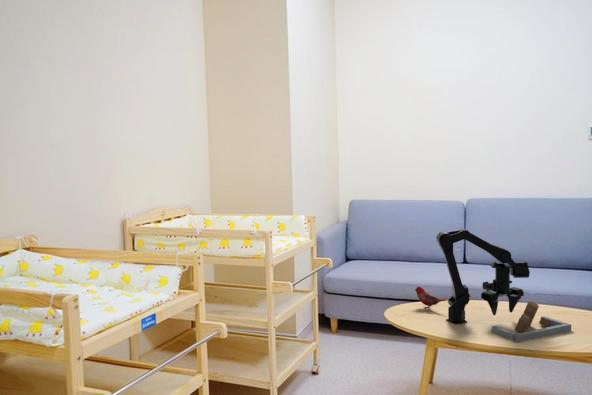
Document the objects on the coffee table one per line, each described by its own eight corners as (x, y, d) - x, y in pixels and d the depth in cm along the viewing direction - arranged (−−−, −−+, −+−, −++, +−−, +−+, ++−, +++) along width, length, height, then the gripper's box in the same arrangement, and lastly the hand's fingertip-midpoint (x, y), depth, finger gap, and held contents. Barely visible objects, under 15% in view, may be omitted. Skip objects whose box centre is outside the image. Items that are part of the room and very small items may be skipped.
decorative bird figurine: (416, 305, 250) (416, 285, 249) (449, 312, 237) (449, 290, 236) (413, 306, 248) (412, 286, 247) (446, 313, 235) (445, 292, 234)
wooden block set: (523, 340, 204) (532, 320, 200) (504, 327, 211) (513, 307, 206) (547, 329, 215) (556, 309, 210) (529, 316, 221) (538, 297, 217)
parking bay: (517, 342, 196) (517, 336, 195) (491, 332, 207) (491, 326, 207) (571, 330, 207) (571, 324, 207) (544, 321, 219) (544, 316, 219)
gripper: (504, 272, 231) (504, 306, 232) (472, 276, 224) (472, 311, 225) (524, 276, 221) (524, 312, 222) (490, 281, 213) (490, 318, 214)
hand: (502, 313), depth 221 cm, fingers open, 9 cm apart
